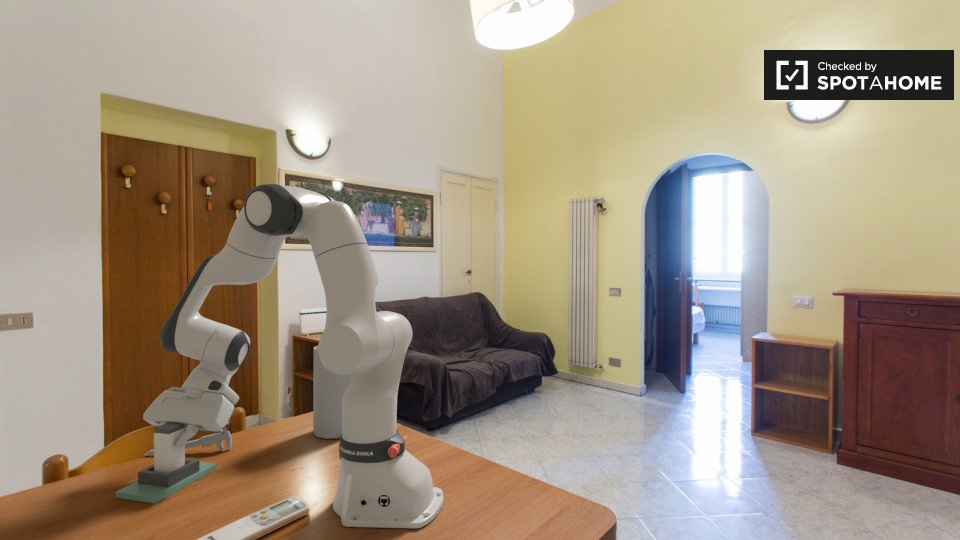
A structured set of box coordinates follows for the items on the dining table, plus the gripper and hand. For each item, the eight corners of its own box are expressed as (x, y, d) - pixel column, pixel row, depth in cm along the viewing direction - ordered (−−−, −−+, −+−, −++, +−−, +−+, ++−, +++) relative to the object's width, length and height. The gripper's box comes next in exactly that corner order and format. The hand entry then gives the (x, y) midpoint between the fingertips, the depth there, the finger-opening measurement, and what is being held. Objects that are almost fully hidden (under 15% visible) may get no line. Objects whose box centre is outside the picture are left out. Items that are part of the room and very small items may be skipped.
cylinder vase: (314, 426, 135) (314, 343, 135) (357, 422, 139) (357, 342, 138) (311, 442, 123) (312, 351, 123) (358, 437, 127) (359, 349, 126)
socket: (216, 468, 107) (216, 453, 107) (154, 503, 91) (154, 485, 91) (182, 464, 109) (182, 449, 109) (115, 497, 93) (115, 479, 93)
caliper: (231, 450, 118) (231, 426, 118) (230, 451, 117) (230, 428, 117) (144, 455, 114) (145, 431, 114) (142, 457, 113) (142, 433, 113)
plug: (184, 467, 102) (184, 423, 102) (169, 475, 98) (168, 429, 98) (170, 465, 103) (170, 421, 102) (154, 473, 99) (154, 428, 98)
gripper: (159, 379, 109) (119, 434, 99) (231, 385, 104) (196, 443, 95) (176, 392, 113) (138, 446, 104) (245, 398, 109) (213, 455, 99)
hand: (167, 445), depth 99 cm, fingers closed on plug, 4 cm apart
